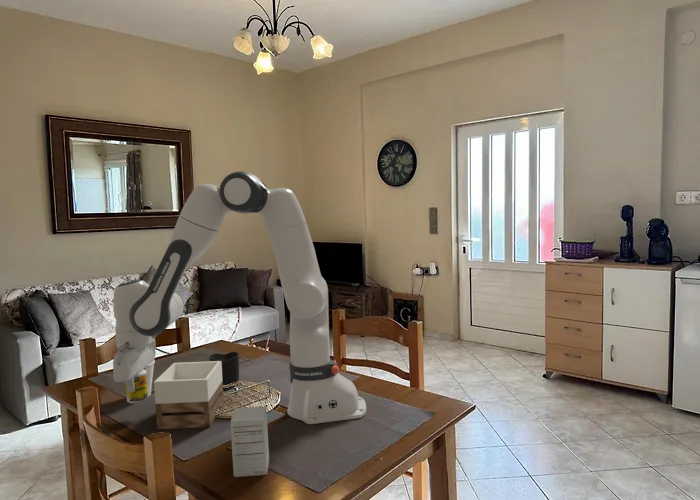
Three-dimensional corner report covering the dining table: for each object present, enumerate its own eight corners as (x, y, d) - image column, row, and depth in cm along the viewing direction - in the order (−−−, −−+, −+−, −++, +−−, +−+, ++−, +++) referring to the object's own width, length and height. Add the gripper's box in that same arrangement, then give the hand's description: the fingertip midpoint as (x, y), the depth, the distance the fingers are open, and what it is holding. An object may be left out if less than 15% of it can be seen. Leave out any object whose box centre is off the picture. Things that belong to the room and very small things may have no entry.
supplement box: (237, 460, 113) (234, 407, 112) (269, 458, 113) (267, 405, 112) (232, 478, 105) (229, 421, 104) (267, 475, 106) (264, 419, 105)
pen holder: (226, 391, 156) (225, 361, 155) (205, 387, 161) (203, 357, 160) (246, 382, 165) (244, 353, 164) (224, 378, 169) (223, 350, 168)
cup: (119, 405, 148) (117, 369, 147) (126, 393, 158) (124, 360, 157) (154, 401, 150) (152, 366, 149) (159, 389, 160) (157, 356, 159)
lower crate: (223, 403, 147) (222, 380, 146) (209, 426, 131) (208, 401, 130) (176, 405, 146) (175, 382, 146) (157, 429, 130) (155, 403, 130)
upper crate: (222, 380, 146) (221, 361, 146) (208, 401, 130) (207, 379, 130) (175, 382, 146) (174, 362, 145) (155, 403, 130) (153, 381, 129)
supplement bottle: (128, 405, 134) (125, 369, 133) (125, 399, 139) (122, 364, 138) (150, 400, 137) (147, 365, 136) (146, 395, 142) (143, 360, 141)
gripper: (129, 348, 126) (133, 400, 127) (158, 329, 146) (161, 374, 148) (104, 349, 126) (108, 401, 127) (136, 330, 146) (140, 375, 147)
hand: (137, 386), depth 138 cm, fingers closed on supplement bottle, 6 cm apart
